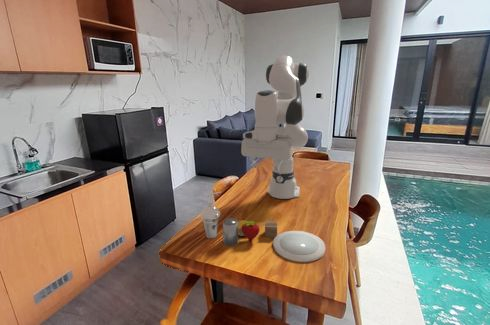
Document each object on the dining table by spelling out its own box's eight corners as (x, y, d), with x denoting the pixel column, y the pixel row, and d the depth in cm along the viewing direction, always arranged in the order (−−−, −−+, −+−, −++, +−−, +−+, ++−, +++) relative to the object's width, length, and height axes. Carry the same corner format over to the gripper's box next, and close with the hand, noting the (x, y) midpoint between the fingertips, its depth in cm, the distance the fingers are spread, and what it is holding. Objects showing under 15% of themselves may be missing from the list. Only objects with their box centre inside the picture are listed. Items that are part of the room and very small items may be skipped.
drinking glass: (228, 236, 111) (227, 216, 108) (240, 239, 108) (240, 219, 106) (220, 244, 105) (219, 223, 103) (234, 247, 103) (233, 226, 101)
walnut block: (265, 231, 115) (265, 221, 113) (276, 232, 114) (276, 221, 113) (265, 237, 110) (265, 226, 108) (277, 238, 109) (277, 227, 108)
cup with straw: (207, 229, 117) (205, 187, 112) (225, 232, 114) (224, 189, 109) (197, 238, 110) (194, 194, 104) (216, 242, 106) (214, 196, 101)
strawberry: (257, 246, 104) (257, 223, 101) (239, 243, 106) (239, 220, 103) (261, 238, 109) (261, 216, 106) (243, 235, 111) (243, 214, 109)
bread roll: (249, 224, 119) (249, 216, 118) (254, 235, 111) (254, 227, 110) (231, 226, 118) (231, 218, 117) (235, 237, 109) (235, 228, 108)
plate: (281, 229, 116) (282, 226, 115) (328, 239, 108) (329, 236, 107) (265, 253, 98) (265, 250, 98) (320, 267, 90) (320, 264, 90)
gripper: (294, 134, 99) (293, 169, 102) (246, 131, 108) (246, 164, 111) (289, 136, 93) (288, 174, 97) (239, 133, 102) (239, 168, 106)
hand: (265, 168), depth 104 cm, fingers open, 8 cm apart
